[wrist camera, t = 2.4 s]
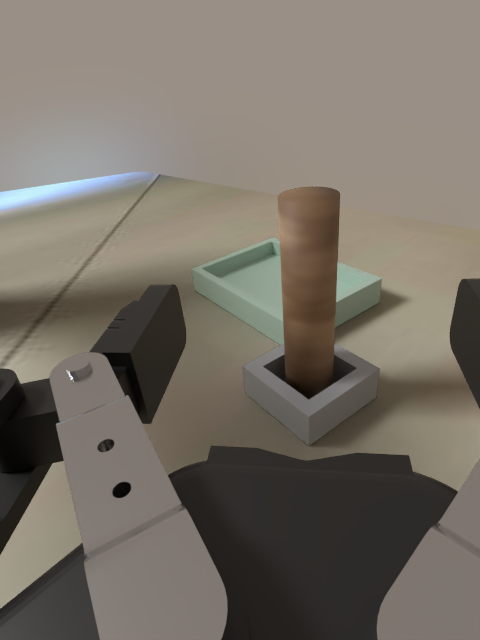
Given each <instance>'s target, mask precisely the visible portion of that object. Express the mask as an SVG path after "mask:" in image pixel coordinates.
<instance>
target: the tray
mask: <svg viewBox="0 0 480 640" xmlns="http://www.w3.org/2000/svg"><path fill="white" fill-rule="evenodd" d="M191 272H192V277H193V283H194V289H195V291H197V292H198V293H200V294H201V295H203V296H205V297H206V298H208V299H209V300H211V301H212V302H214V303H216V304H217V305H219V306H220V307H222V308H223V309H225V310H227V311H228V312H230V313H231V314H233V315H234V316H236V317H237V318H239V319H241V320H242V321H244V322H245V323H247V324H248V325H250V326H252V327H253V328H255V329H256V330H258V331H259V332H261V333H263V334H264V335H266V336H267V337H269V338H270V339H272V340H274V341H275V342H277V343H278V344H280V345H282V344H283V343H284V330H283V306H282V283H281V259H280V240H278V239H275V238H270V239H268V240H265V241H262V242H260V243H257V244H254V245H252V246H249V247H247V248H244V249H241V250H239V251H236V252H234V253H231V254H228V255H226V256H223V257H220V258H218V259H215V260H213V261H210V262H207V263H205V264H202V265H199V266H197V267H194V268H192V269H191ZM381 282H382V278H380V277H377V276H374V275H372V274H369V273H366V272H363V271H361V270H358V269H355V268H353V267H350V266H347V265H345V264H342V263H339V262H338V263H337V290H336V318H335V327H337V326H339V325H340V324H342V323H344V322H346V321H348V320H349V319H351V318H353V317H355V316H356V315H358V314H360V313H362V312H363V311H365V310H367V309H369V308H371V307H372V306H374V305H376V304H378V303H379V302H380V292H381Z"/></svg>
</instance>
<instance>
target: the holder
mask: <svg viewBox="0 0 480 640" xmlns="http://www.w3.org/2000/svg"><path fill="white" fill-rule="evenodd" d="M242 367H243V376H244V385H245V393H246V394H247V395H248V396H249V397H251V398H252V399H253V400H254V401H255V402H257V403H258V404H259V405H260V406H261V407H263V408H264V409H265V410H266V411H267V412H269V413H270V414H271V415H272V416H273V417H274V418H276V419H277V420H278V421H279V422H280V423H282V424H283V425H284V426H285V427H286V428H288V429H289V430H290V431H291V432H292V433H294V434H295V435H296V436H297V437H298V438H300V439H301V440H302V441H303V442H304V443H306V444H307V445H308V446H310V445H311V444H313V443H314V442H315V441H317V440H318V439H320V438H321V437H322V436H324V435H325V434H326V433H328V432H329V431H331V430H332V429H333V428H335V427H336V426H337V425H339V424H340V423H342V422H343V421H344V420H346V419H347V418H348V417H350V416H351V415H353V414H354V413H355V412H357V411H358V410H359V409H361V408H362V407H364V406H365V405H366V404H368V403H369V402H371V401H372V400H373V399H375V398H376V397H377V388H378V379H379V371H380V368H378V367H376V366H374V365H372V364H371V363H369V362H367V361H365V360H363V359H362V358H360V357H358V356H356V355H355V354H353V353H351V352H349V351H347V350H346V349H344V348H342V347H340V346H338V345H337V344H335V345H334V372H333V383H334V384H332V385H331V386H329V387H328V388H326V389H325V390H323V391H322V392H320V393H319V394H317V395H315V396H314V397H312V398H311V399H307V398H306V397H304V396H303V395H302V394H300V393H299V392H297V391H296V390H295V389H293V388H292V387H291V386H289V385H288V384H286V383H285V381H286V377H285V353H284V343H283V344H282V345H280V346H278V347H276V348H274V349H272V350H271V351H269V352H267V353H265V354H263V355H262V356H260V357H258V358H256V359H254V360H252V361H251V362H249V363H247V364H245V365H243V366H242Z"/></svg>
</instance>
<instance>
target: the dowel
mask: <svg viewBox="0 0 480 640" xmlns="http://www.w3.org/2000/svg"><path fill="white" fill-rule="evenodd" d="M339 209H340V193H339V191H337V190H335V189H332V188H327V187H302V188H295V189H291V190H287V191H284V192H282V193H281V194H279V196H278V212H279V236H280V259H281V283H282V306H283V330H284V353H285V377H286V384H288V385H289V386H291V387H292V388H293V389H295V390H296V391H297V392H299V393H300V394H302V395H303V396H304V397H306V398H307V399H311V398H312V397H314V396H315V395H317V394H319V393H320V392H322V391H323V390H325V389H326V388H328V387H329V386H331V385H332V384H333V372H334V345H335V318H336V290H337V263H338V236H339Z"/></svg>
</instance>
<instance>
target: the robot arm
mask: <svg viewBox="0 0 480 640" xmlns="http://www.w3.org/2000/svg"><path fill="white" fill-rule="evenodd" d="M185 343H186V328H185V322H184V317H183V312H182V307H181V302H180V297H179V292H178V289H177V287H176V285H150V286H149V287H148V288H147V290H146V291H145V293H144V294H143V295H142V297H141V298H140V300H139V301H133V302H132V303H130V304H129V305H127V306H126V307H125V308H123V309H122V310H121V311H120V312H119V313H118V315H117V316H116V317H115V319H114V321H112V323H111V324H110V325H109V327H108V329H106V331H105V332H104V333H103V335H102V336H101V337H100V339H99V340H98V341H97V343H96V344H95V345H94V347H93V348H92V349H91V351H90V352H89V353H82V354H78V355H74V356H72V357H69V358H67V359H65V360H64V361H62V362H61V363H59V364H58V365H57V366H56V367H55V368H54V369H53V370H52V372H51V374H50V377H49V378H48V379H43V380H38V381H33V382H28V383H23V384H20V382H19V380H18V377H17V375H16V374H15V372H14V371H12V370H10V369H0V554H1V553H2V551H3V549H4V547H5V546H6V544H7V542H8V540H9V539H10V537H11V535H12V533H13V532H14V530H15V528H16V526H17V525H18V523H19V521H20V519H21V518H22V516H23V514H24V512H25V511H26V509H27V507H28V505H29V504H30V502H31V500H32V498H33V497H34V495H35V493H36V491H37V490H38V488H39V486H40V484H41V482H42V481H43V479H44V477H45V475H46V474H47V472H48V470H49V468H50V467H51V465H52V463H55V462H60V461H64V463H65V468H66V472H67V477H68V481H69V485H70V490H71V494H72V499H73V503H74V507H75V512H76V516H77V521H78V525H79V530H80V534H81V538H82V544H80V545H79V546H78V547H77V548H75V549H74V550H73V551H72V552H70V553H69V554H68V555H67V556H65V557H64V558H63V559H62V560H60V561H59V562H58V563H57V564H55V565H54V566H53V567H52V568H51V569H49V570H48V571H47V572H46V573H44V574H43V575H42V576H41V577H39V578H38V579H37V580H36V581H34V582H33V583H32V584H31V585H29V586H28V587H27V588H26V589H25V590H23V591H22V592H21V593H20V594H18V595H17V596H16V597H15V598H13V599H12V600H11V601H10V602H8V603H7V604H6V605H5V606H3V607H2V608H1V609H0V640H480V459H479V461H478V462H477V464H476V465H475V467H474V468H473V470H472V471H471V473H470V475H469V476H468V478H467V479H466V481H465V482H464V484H463V485H462V487H461V489H460V490H459V492H458V491H456V490H454V489H453V488H451V487H449V486H447V485H446V484H444V483H441V482H439V481H437V480H435V479H433V478H430V477H427V476H425V475H422V474H419V473H415V472H413V471H412V466H411V462H410V458H409V455H389V454H368V453H354V454H348V455H341V456H335V457H329V458H323V459H317V460H310V461H304V460H299V459H296V458H292V457H288V456H284V455H281V454H277V453H273V452H269V451H266V450H262V449H258V448H245V447H225V446H211V448H210V452H209V456H208V460H207V461H203V462H198V463H195V464H191V465H189V466H186V467H183V468H181V469H179V470H177V471H175V472H173V473H171V474H169V475H167V473H166V471H165V469H164V467H163V465H162V463H161V461H160V459H159V457H158V455H157V453H156V451H155V449H154V447H153V445H152V443H151V441H150V439H149V436H148V434H147V432H146V430H145V428H144V426H143V424H151V422H152V420H153V418H154V415H155V413H156V411H157V409H158V406H159V404H160V402H161V400H162V397H163V395H164V393H165V391H166V388H167V386H168V384H169V381H170V379H171V377H172V375H173V372H174V370H175V368H176V366H177V363H178V361H179V359H180V357H181V354H182V352H183V350H184V347H185ZM450 344H451V348H452V351H453V353H454V355H455V358H456V360H457V362H458V364H459V366H460V368H461V370H462V372H463V374H464V377H465V379H466V381H467V383H468V385H469V387H470V389H471V391H472V394H473V396H474V398H475V400H476V402H477V404H478V406H479V408H480V279H462V280H461V282H460V284H459V287H458V291H457V296H456V302H455V307H454V312H453V317H452V322H451V327H450ZM142 423H143V424H142Z"/></svg>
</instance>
